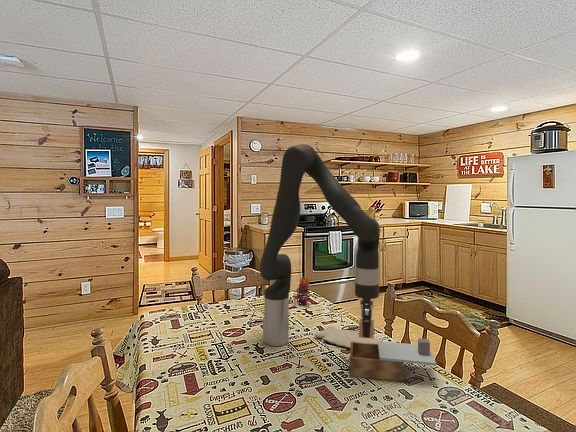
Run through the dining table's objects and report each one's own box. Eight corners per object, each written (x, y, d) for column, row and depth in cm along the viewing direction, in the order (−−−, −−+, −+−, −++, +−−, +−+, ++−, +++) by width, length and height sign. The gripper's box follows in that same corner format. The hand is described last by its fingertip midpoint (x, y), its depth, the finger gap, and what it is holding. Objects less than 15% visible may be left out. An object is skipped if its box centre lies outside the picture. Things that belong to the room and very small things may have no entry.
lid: (379, 360, 105) (379, 344, 105) (377, 343, 117) (378, 329, 117) (436, 365, 102) (436, 349, 102) (428, 347, 114) (428, 333, 113)
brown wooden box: (349, 376, 108) (349, 357, 107) (350, 358, 119) (350, 341, 119) (403, 382, 104) (404, 363, 104) (399, 363, 116) (399, 345, 116)
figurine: (291, 307, 171) (291, 277, 170) (294, 302, 180) (294, 273, 179) (308, 308, 170) (309, 278, 169) (310, 303, 179) (311, 274, 178)
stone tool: (312, 341, 135) (373, 358, 119) (312, 331, 135) (373, 347, 119) (329, 331, 145) (387, 346, 130) (329, 322, 145) (387, 336, 130)
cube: (358, 337, 110) (359, 323, 109) (359, 331, 114) (359, 318, 114) (373, 338, 109) (373, 324, 108) (373, 333, 113) (373, 319, 113)
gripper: (380, 287, 103) (379, 344, 104) (378, 276, 117) (377, 326, 118) (354, 286, 104) (353, 342, 105) (355, 275, 118) (354, 325, 119)
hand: (366, 333), depth 111 cm, fingers closed on cube, 4 cm apart
